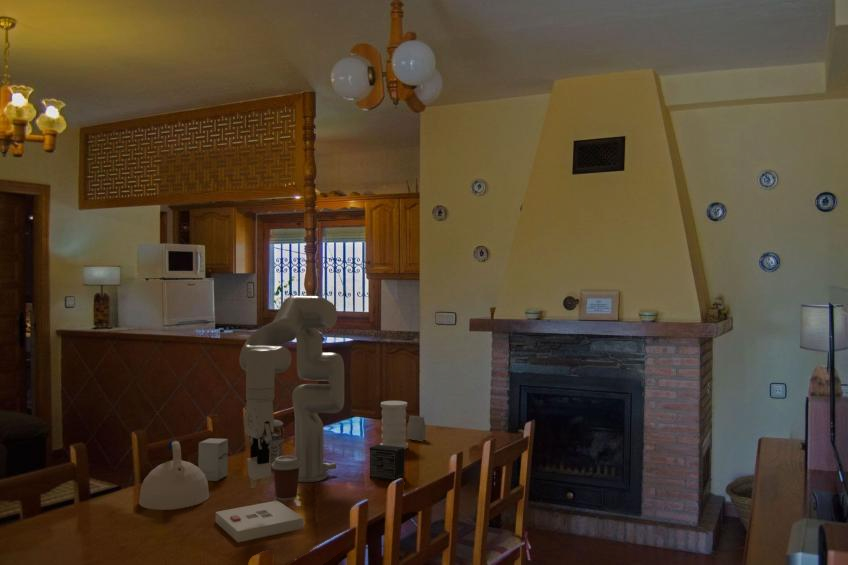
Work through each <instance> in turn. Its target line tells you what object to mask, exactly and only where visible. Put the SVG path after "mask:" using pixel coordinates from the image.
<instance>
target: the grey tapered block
mask: <svg viewBox="0 0 848 565" xmlns="http://www.w3.org/2000/svg"><path fill="white" fill-rule="evenodd" d="M407 421H408V422H407V426H406V440H407V439H412V440H421V441H422V440H424V439H425V440H426V434H427V433H426V422H425V417H424V416H418V415H415V416H414V415H409V417H408V420H407ZM422 442H423V441H422Z"/></svg>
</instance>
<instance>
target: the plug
mask: <svg viewBox="0 0 848 565" xmlns="http://www.w3.org/2000/svg"><path fill="white" fill-rule="evenodd" d="M246 461H247V473H248V477H249V480H250V488H251V489H255V488H257V486H258V485H257V484H258V483H257V480H259V479H260V484H265V487H270V486H272V479H271V478H272V477H271V476H272V467H271V465H272V464H271V463H270V457H269V463H265V464H257V456H256V457H252V458H251V457H250V458H249V457H248V458H246Z"/></svg>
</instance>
